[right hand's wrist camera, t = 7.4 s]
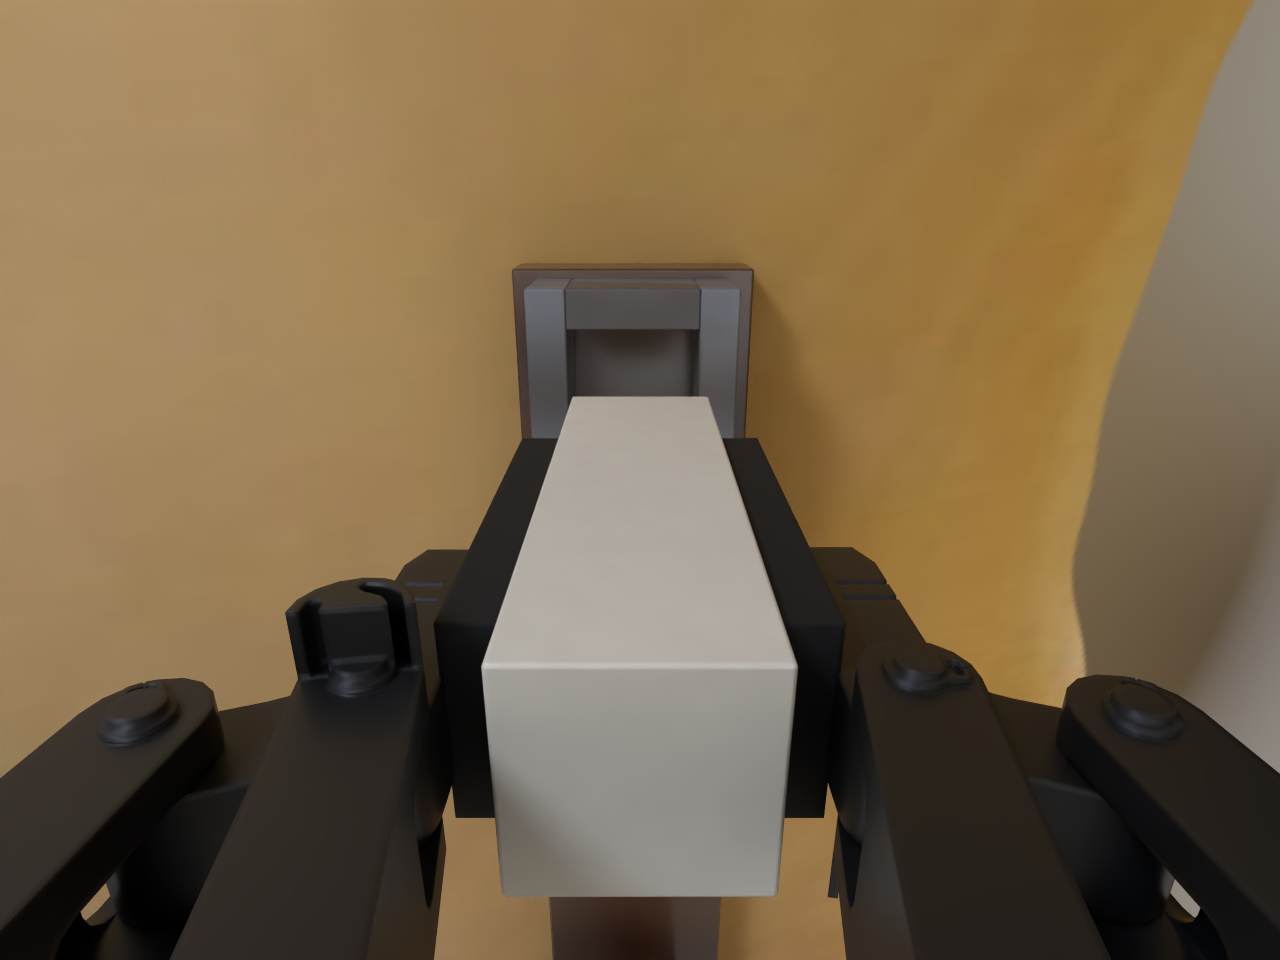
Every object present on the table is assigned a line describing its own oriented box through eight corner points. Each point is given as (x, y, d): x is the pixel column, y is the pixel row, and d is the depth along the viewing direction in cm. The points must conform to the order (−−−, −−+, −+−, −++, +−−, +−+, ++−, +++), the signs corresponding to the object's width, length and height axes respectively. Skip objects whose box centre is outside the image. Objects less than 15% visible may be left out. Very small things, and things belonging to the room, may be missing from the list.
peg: (704, 520, 17) (778, 899, 8) (576, 521, 17) (501, 898, 8) (708, 396, 16) (800, 665, 7) (571, 396, 16) (478, 664, 7)
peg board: (709, 997, 40) (727, 1181, 32) (561, 998, 40) (544, 1182, 32) (746, 263, 26) (789, 290, 19) (520, 263, 26) (474, 290, 19)
